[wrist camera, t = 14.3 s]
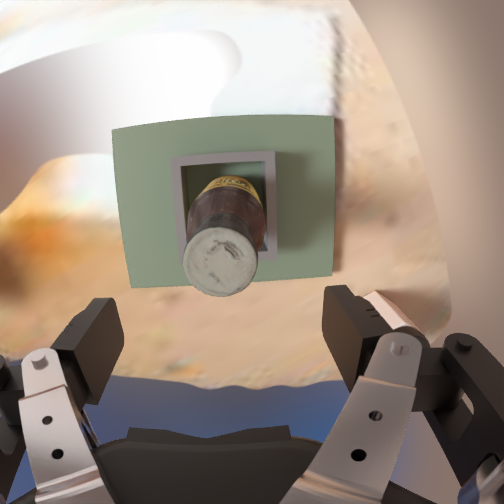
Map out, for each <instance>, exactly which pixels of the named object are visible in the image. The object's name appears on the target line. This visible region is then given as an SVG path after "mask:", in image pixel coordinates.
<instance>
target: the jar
mask: <svg viewBox="0 0 504 504" xmlns="http://www.w3.org/2000/svg"><path fill="white" fill-rule="evenodd" d="M363 298H364V299H366V300H368V301H370V303H371V304H372V305H373V306H374V307H375V309H376V310H377V311H378V312H379V313H380V316H382V317H383V318H384V319H385V320H386V322H387V323H388V324H389V325H390V326H391V328H392V329H393V330H394V331H395V332H400V333H405V334H409V335H411V336H413V337H415V338H416V339H417V340H419V342H420V343H421V345H422V348H430V344H429V342H428V340H427V339H426V338H425V336H424V335H423V333H422V332H421V331H420V330H419V329H418V328H417V327H416V326H415V325H414V324H413V323H412V322H411V320H410V319H409V318H408V317H407V316H406V315H405V314H404V313H403V312H402V311H401V310H400V309H399V308H398V307H397V306H396V305H395V304H394V303H393V302H391V301H390V300H388V299H387V298H385V297H384V296H383V295H381V294H380V293H378V292H377V291H373V292H371V293H370V294H368V295H366V296H364V297H363Z"/></svg>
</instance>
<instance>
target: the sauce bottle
mask: <svg viewBox="0 0 504 504" xmlns="http://www.w3.org/2000/svg"><path fill="white" fill-rule="evenodd" d="M265 223H266V222H265V217H264V212H263V208H262V205H261V203H260V200H259V197H258V194H257V192H256V190H255V188H254V187H253V185H252V184H251V183H250V182H249V181H247V180H246V179H244V178H242V177H239V176H236V175H225V176H221V177H218V178H216V179H215V180H213V181H212V182H210V183H209V185H208V186H207V187H206V188H205V189H204V190H203V191H202V192H201V194H200V195H199V196H198V197H197V198H196V199H195V201H194V202H193V204H192V205H191V207H190V210H189V214H188V224H187V237H186V242H187V244H186V246H185V249H184V254H183V267H184V272H185V274H186V276H187V278H188V280H189V281H190V283H191V284H192V285H193V286H194V287H195V288H197V289H198V290H200V291H202V292H203V293H205V294H208V295H211V296H217V297H226V296H230V295H233V294H236V293H238V292H241V291H242V290H244V289H245V288H246V287H247V286H248V285H249V284H250V283H251V281H252V280H253V278H254V276H255V274H256V270H257V265H258V250H259V249H260V247H261V246H262V244H263V240H264V234H265Z"/></svg>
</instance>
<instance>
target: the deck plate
mask: <svg viewBox="0 0 504 504" xmlns="http://www.w3.org/2000/svg"><path fill="white" fill-rule="evenodd" d="M112 141H113V142H112V143H113V159H114V172H115V183H116V193H117V202H118V210H119V218H120V225H121V232H122V239H123V245H124V251H125V257H126V263H127V268H128V274H129V279H130V284H131V288H149V287H172V286H193V285H192V284H191V283H190V281H189V280H188V278H187V276H186V274H185V272H184V267H183V254H184V249H185V246H186V244H187V242H186V237H187V224H188V214H189V210H190V207H191V205H192V204H193V202H194V201H195V199H196V198H197V197H198V196H199V195H200V194H201V192H202V191H203V190H204V189H205V188H206V187H207V186H208V185H209V183H210V182H212V181H213V180H215V179H216V178H218V177H221V176H225V175H236V176H239V177H242V178H244V179H246V180H247V181H249V182H250V183H251V184H252V185H253V187H254V188H255V190H256V192H257V194H258V197H259V200H260V203H261V205H262V208H263V212H264V217H265V222H266V223H265V234H264V240H263V244H262V246H261V247H260V249H259V250H258V265H257V270H256V274H255V276H254V278H253V280H252V281H251V282H260V281H274V280H288V279H301V278H314V277H326V276H332V270H333V251H334V224H335V135H334V116H319V115H240V116H221V117H206V118H194V119H185V120H175V121H167V122H158V123H151V124H144V125H138V126H131V127H125V128H119V129H114V130H112Z"/></svg>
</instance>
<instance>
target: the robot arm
mask: <svg viewBox="0 0 504 504" xmlns="http://www.w3.org/2000/svg"><path fill="white" fill-rule="evenodd" d="M322 332H323V337H324V339H325V341H326V343H327V345H328V348H329V350H330V352H331V354H332V356H333V358H334V360H335V362H336V364H337V367H338V369H339V371H340V373H341V375H342V377H343V379H344V382H345V384H346V386H347V388H348V390H349V392H350V396H349V398H348V400H347V401H346V404H345V406H344V407H343V409H342V411H341V413H340V415H339V417H338V418H337V420H336V422H335V424H334V426H333V428H332V429H331V431H330V433H329V434H328V436H327V438H326V439H325V441H324V443H321V442H319V441H316V440H312V439H308V438H303V437H297V436H291V435H290V430H289V426H288V425H285V426H276V427H266V428H253V429H246V430H242V431H238V432H234V433H230V434H225V435H221V436H217V437H212V438H199V437H194V436H189V435H185V434H181V433H176V432H172V431H168V430H158V429H143V428H131V427H130V428H129V430H128V434H127V437H126V438H125V439H119V440H114V441H111V442H107V443H105V444H102V445H100V443H99V441H98V439H97V437H96V435H95V433H94V430H93V428H92V427H91V424H90V422H89V420H88V417H87V415H86V413H85V411H84V409H83V406H84V405H85V404H93V405H98V403H99V401H100V398H101V396H102V393H103V391H104V389H105V386H106V384H107V382H108V380H109V377H110V375H111V373H112V371H113V369H114V366H115V364H116V362H117V360H118V358H119V355H120V353H121V351H122V349H123V346H124V333H123V329H122V326H121V322H120V318H119V314H118V310H117V306H116V303H115V300H114V299H113V298H94V299H93V300H92V301H91V303H90V304H89V305H88V306H87V308H86V309H85V310H83V311H82V312H80V313H79V314H77V315H76V316H74V318H73V319H72V320H71V321H70V323H69V325H67V326H66V328H65V329H64V331H62V333H61V334H60V335H59V337H58V338H57V339H56V340H55V342H54V343H53V344H52V346H51V347H50V348H42V349H38V350H35V351H33V352H31V353H29V354H28V355H27V356H26V357H25V358H24V359H23V361H22V365H19V366H10V367H8V365H7V363H6V361H5V359H4V357H3V356H2V355H0V415H1V418H0V504H6V500H7V497H8V494H9V491H10V489H11V486H12V483H13V480H14V477H15V475H16V472H17V470H18V467H19V464H20V462H21V459H22V457H23V454H24V452H25V450H26V448H27V452H28V457H29V461H30V465H31V469H32V472H33V476H34V480H35V483H36V486H37V487H36V488H34V489H32V490H31V491H29V492H28V493H26V494H24V495H23V496H21V497H19V498H18V499H16V500H14V501H13V502H11V503H9V504H436V503H434V502H432V501H430V500H427V499H426V498H423V497H421V496H419V495H417V494H415V493H413V492H411V491H409V490H407V489H405V488H403V487H401V486H399V485H397V484H395V483H393V482H391V481H390V480H389V479H390V477H391V474H392V471H393V468H394V466H395V463H396V460H397V457H398V454H399V451H400V448H401V445H402V442H403V439H404V435H405V432H406V428H407V425H408V421H409V418H410V414H411V412H418V411H422V412H423V414H424V416H425V417H426V419H427V421H428V423H429V425H430V427H431V428H432V430H433V432H434V434H435V436H436V438H437V439H438V442H439V443H440V445H441V447H442V449H443V451H444V453H445V455H446V457H447V459H448V461H449V463H450V465H451V467H452V469H453V471H454V473H455V475H456V477H457V479H458V481H459V483H460V486H461V488H460V490H459V492H458V497H457V503H458V504H504V367H503V366H502V365H501V364H500V363H499V362H498V361H497V360H496V358H495V357H494V356H493V355H492V354H491V353H490V352H489V351H488V350H487V349H486V348H485V347H484V346H483V345H482V344H481V343H480V342H479V341H478V340H477V339H476V338H474V337H472V336H470V335H468V334H463V333H454V334H450V335H449V336H447V337H446V339H445V341H444V344H443V347H442V348H422V345H421V343H420V342H419V340H417V339H416V338H415V337H413V336H411V335H409V334H405V333H400V332H395V331H394V330H393V329H392V328H391V326H390V325H389V324H388V323H387V322H386V320H385V319H384V318H383V317H382V316H380V313H379V312H378V311H377V310H376V309H375V307H374V306H373V305H372V304H371V303H370V301H368V300H366V299H364V298H362V297H361V296H354V294H353V293H352V292H351V291H350V289H349V288H348V287H347V286H346V285H336V286H326V287H325V290H324V302H323V315H322ZM464 392H465V393H466V394H467V396H468V398H469V399H470V400H471V402H472V404H473V407H474V414H472V413H471V412H470V410H469V409H468V407H467V406H466V404H465V403H464V401H463V400H462V396H463V394H464Z"/></svg>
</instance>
